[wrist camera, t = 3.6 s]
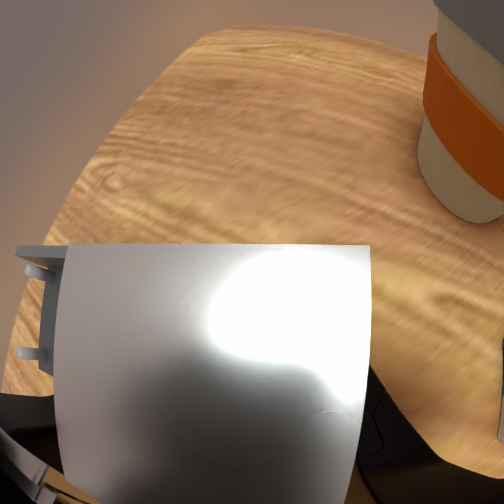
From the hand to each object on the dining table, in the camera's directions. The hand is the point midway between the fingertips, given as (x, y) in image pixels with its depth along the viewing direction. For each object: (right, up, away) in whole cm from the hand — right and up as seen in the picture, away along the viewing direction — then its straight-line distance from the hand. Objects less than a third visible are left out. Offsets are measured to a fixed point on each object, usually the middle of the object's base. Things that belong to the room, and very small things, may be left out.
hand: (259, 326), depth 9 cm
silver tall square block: (+1, -3, +6) cm, 7 cm away
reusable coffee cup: (+16, +9, +7) cm, 20 cm away
